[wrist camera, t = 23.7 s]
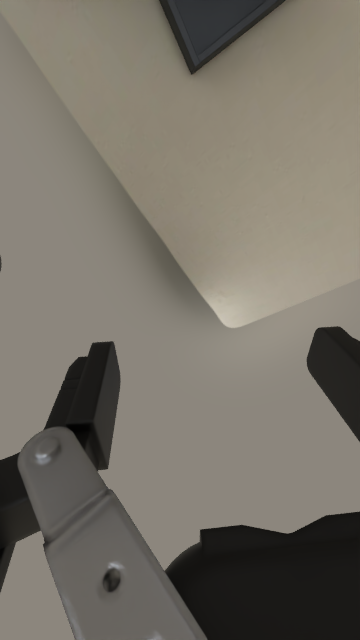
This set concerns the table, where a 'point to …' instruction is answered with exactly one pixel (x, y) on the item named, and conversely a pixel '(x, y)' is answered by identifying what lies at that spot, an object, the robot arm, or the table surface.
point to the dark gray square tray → (212, 25)
